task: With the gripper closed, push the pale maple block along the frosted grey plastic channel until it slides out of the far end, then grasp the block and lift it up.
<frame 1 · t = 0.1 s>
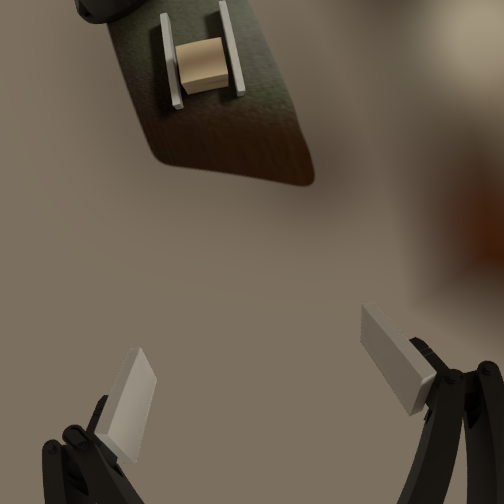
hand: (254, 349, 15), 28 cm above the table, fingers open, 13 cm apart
channel: (201, 54, 32), on the table
maple block: (204, 73, 33), on the table
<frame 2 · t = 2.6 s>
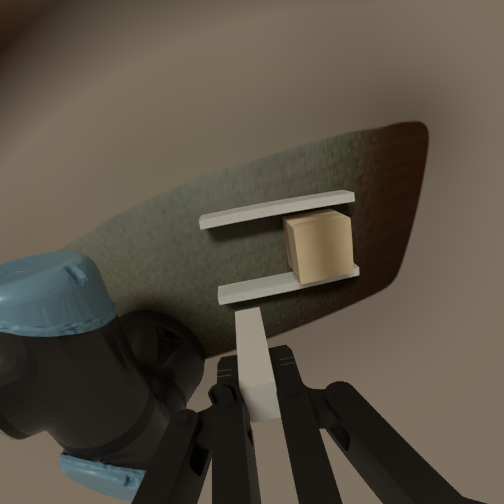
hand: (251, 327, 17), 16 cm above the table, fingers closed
channel: (281, 242, 32), on the table
maple block: (309, 236, 33), on the table
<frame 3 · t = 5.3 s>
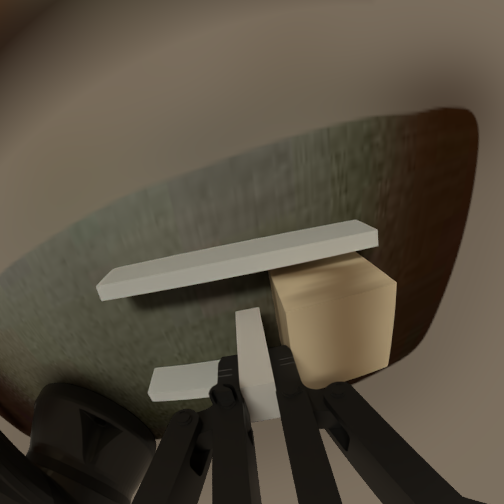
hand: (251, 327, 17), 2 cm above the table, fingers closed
channel: (246, 310, 19), on the table
maple block: (314, 295, 19), on the table, touching gripper
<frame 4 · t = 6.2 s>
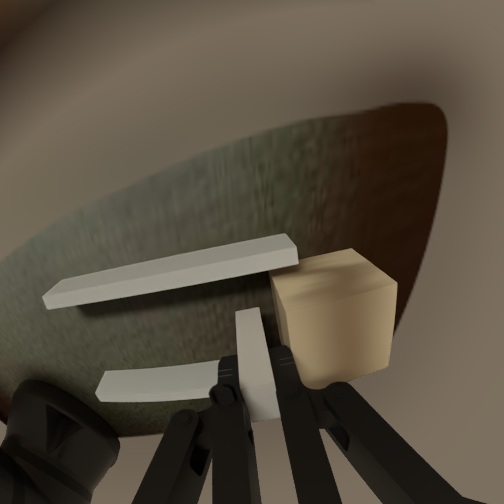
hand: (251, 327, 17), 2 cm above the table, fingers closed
channel: (178, 323, 19), on the table
maple block: (315, 295, 19), on the table, touching gripper
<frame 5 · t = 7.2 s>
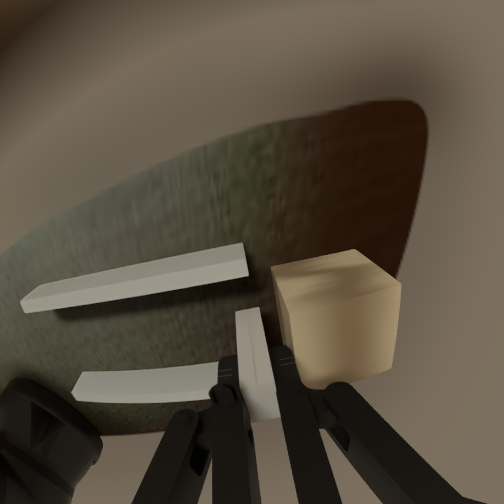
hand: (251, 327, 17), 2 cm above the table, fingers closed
channel: (143, 328, 19), on the table
maple block: (318, 296, 19), on the table, touching gripper
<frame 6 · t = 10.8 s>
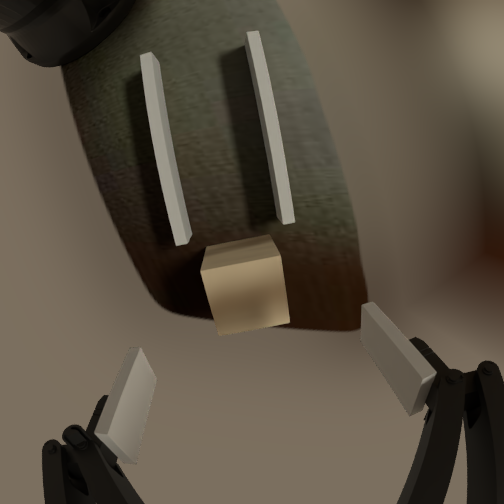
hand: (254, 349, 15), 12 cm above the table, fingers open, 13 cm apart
channel: (216, 134, 22), on the table
maple block: (243, 269, 27), on the table
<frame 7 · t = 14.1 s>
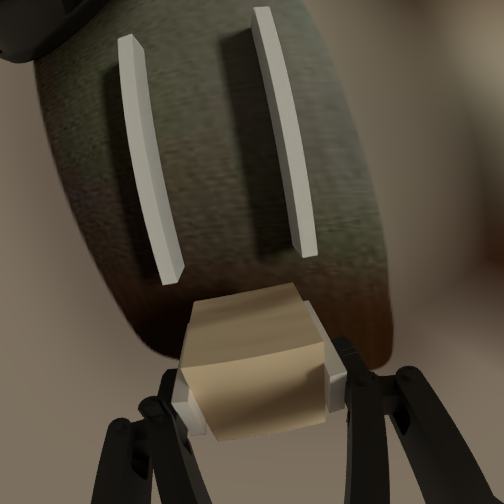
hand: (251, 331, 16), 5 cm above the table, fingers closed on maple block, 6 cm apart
channel: (214, 137, 17), on the table
maple block: (252, 333, 17), point 4 cm above the table, touching gripper
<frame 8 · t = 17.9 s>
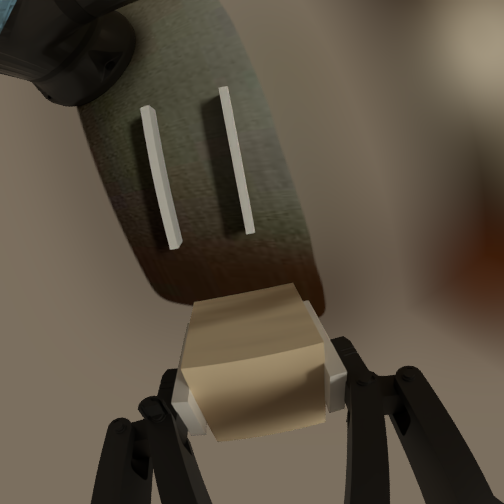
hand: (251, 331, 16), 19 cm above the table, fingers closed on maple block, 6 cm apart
channel: (199, 167, 31), on the table
maple block: (252, 333, 17), point 18 cm above the table, touching gripper
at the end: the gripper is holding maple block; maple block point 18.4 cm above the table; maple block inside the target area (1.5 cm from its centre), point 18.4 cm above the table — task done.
